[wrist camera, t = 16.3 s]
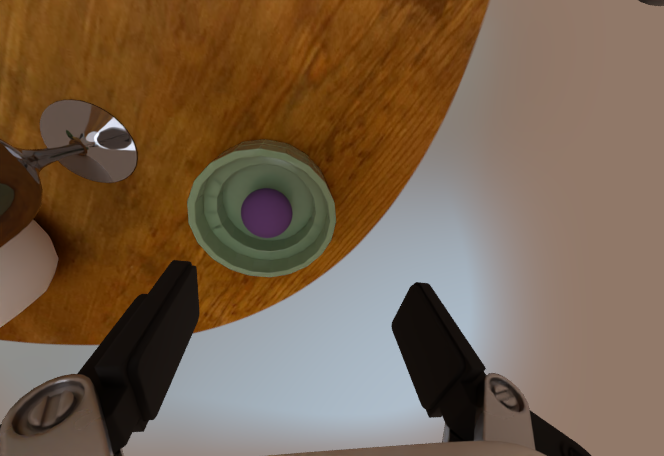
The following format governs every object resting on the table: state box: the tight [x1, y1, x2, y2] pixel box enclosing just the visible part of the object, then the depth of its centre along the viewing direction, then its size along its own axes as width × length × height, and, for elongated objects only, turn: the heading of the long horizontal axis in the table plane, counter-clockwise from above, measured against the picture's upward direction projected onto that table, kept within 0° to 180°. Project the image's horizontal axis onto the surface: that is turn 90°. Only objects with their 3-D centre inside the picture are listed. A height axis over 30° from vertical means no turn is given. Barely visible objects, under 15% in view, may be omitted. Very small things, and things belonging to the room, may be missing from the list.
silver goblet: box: [0, 100, 137, 248], centre depth 15 cm, size 8×8×15 cm
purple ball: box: [241, 188, 293, 238], centre depth 24 cm, size 5×5×5 cm
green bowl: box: [187, 139, 336, 277], centre depth 24 cm, size 13×13×5 cm
